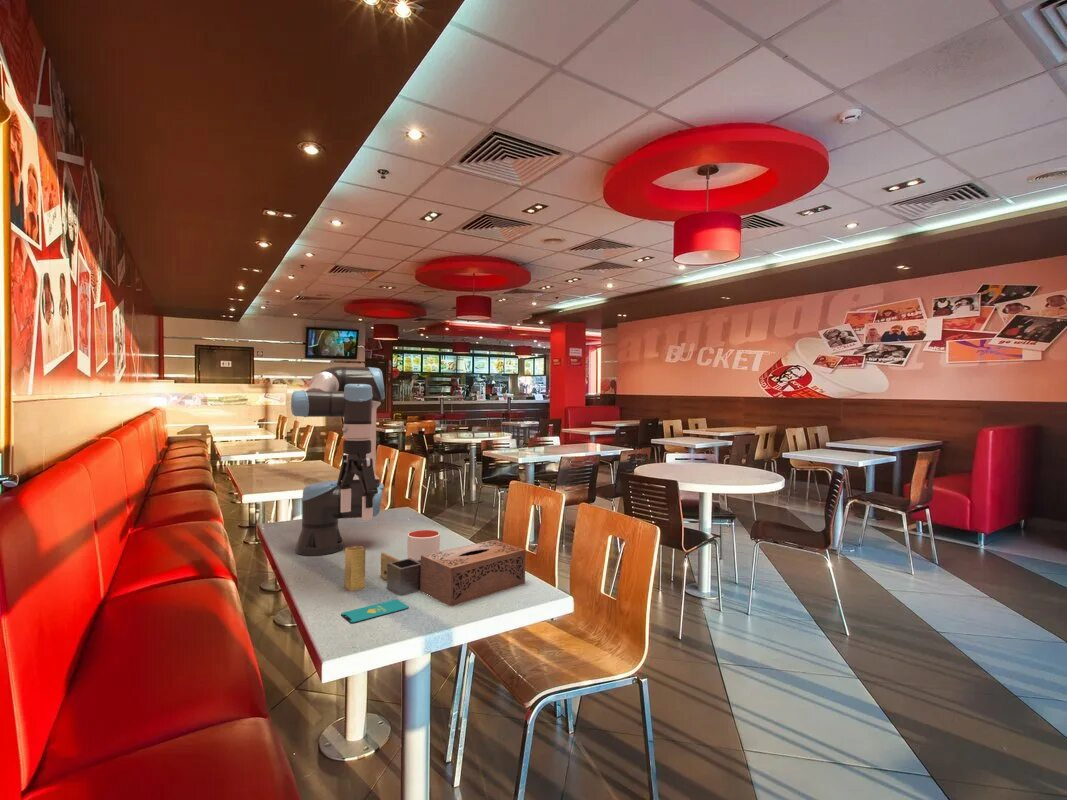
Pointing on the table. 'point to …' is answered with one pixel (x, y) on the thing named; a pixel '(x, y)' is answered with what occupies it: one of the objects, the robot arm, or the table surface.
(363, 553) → the pin
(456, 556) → the tissue box cover
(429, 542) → the cup
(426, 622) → the table surface
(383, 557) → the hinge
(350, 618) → the smartphone
